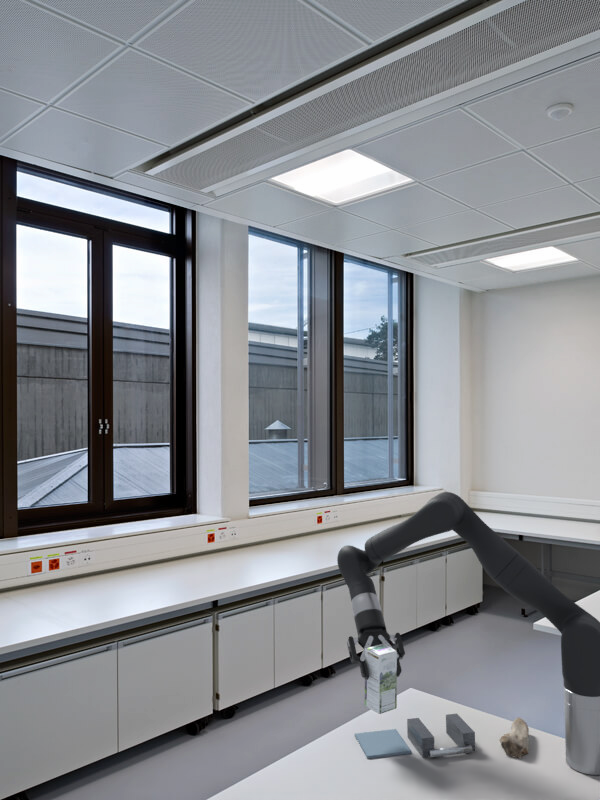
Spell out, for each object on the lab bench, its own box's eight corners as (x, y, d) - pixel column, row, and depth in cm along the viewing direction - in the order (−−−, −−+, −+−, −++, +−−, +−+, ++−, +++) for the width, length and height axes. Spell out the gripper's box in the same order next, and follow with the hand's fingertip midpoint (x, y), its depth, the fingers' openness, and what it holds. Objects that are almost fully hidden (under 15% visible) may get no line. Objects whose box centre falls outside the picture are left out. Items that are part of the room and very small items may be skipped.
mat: (395, 731, 162) (395, 728, 162) (411, 753, 151) (411, 750, 151) (354, 736, 160) (354, 733, 160) (367, 758, 149) (367, 756, 149)
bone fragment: (526, 761, 147) (525, 740, 148) (498, 754, 151) (497, 734, 151) (538, 736, 159) (538, 717, 159) (512, 730, 162) (512, 712, 162)
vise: (457, 731, 162) (456, 713, 162) (478, 754, 150) (477, 735, 150) (407, 737, 159) (407, 719, 159) (425, 761, 148) (424, 741, 148)
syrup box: (381, 700, 160) (381, 642, 161) (397, 709, 155) (397, 649, 156) (364, 706, 157) (363, 647, 158) (380, 715, 152) (379, 654, 153)
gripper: (344, 609, 163) (357, 673, 151) (397, 605, 166) (414, 667, 154) (339, 623, 168) (351, 686, 156) (390, 619, 171) (406, 681, 159)
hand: (382, 677), depth 155 cm, fingers closed on syrup box, 7 cm apart
